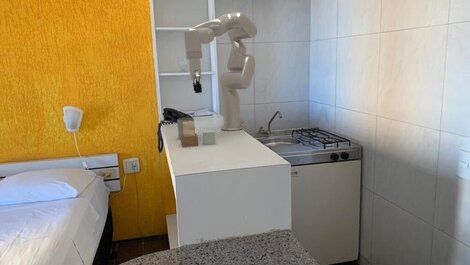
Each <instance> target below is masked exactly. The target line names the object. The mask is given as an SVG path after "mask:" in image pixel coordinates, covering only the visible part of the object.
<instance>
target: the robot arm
mask: <svg viewBox="0 0 470 265" xmlns="http://www.w3.org/2000/svg"><path fill="white" fill-rule="evenodd" d="M257 32H258V29H257V26H256V23H255V22H254V21H253V20H252V19H251V18H250V17H249V16H247V14H246V13H244V12H242V11H236V12H228V13H225V14H223V15H221V16H218V17H216V18H214V19H211V20H210V21H209V20H208V21H206V22H203V23H201V24H198V25H196V26H193V27H191V28H186V29H185V30H184V31H183V37H184V45H185V58H186V60H188V66H189V68H188V69H189V78H190V80H191V81H193V82H192V86H193V91H194V93H195V94H201V93H202V92H203V89H202V84H201V80H202V66H201V59H203V50H202V49H203V48H202V45H208V44H211V43H212V42H213V41H214V39H215V38H217V37H221V36H223V35H224V34H226V33H227V35H228V38H229V41H230V46H231V50H230V52H229V56H228V60H227V63H226V69H228V71H226V72H223V73H222V74H221V75H220V77H219V85H220V90H221V95H222V115H223V116H222V117H223V125H222V126H221V127H220V128H221V129H220V130H222V131H239V130H243V129H244V128H245V127H244V125H242V124H244V123H245V119H241V100H240V99H241V98H240V95H239V92H238V91H237V90H247V89H249V88H250V86H251V84H252V80H253V77H254V72H255V69H256V60H255V57H254V56H253V55H251V54H248V53H247V47H246V45H245V44H244V41H242V40H247V39H253V38H255V37H256V36H257Z"/></svg>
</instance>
